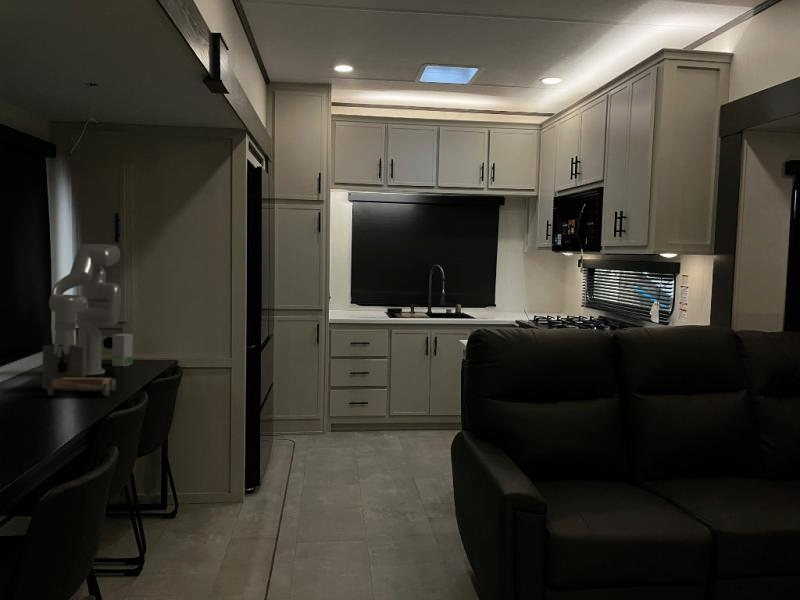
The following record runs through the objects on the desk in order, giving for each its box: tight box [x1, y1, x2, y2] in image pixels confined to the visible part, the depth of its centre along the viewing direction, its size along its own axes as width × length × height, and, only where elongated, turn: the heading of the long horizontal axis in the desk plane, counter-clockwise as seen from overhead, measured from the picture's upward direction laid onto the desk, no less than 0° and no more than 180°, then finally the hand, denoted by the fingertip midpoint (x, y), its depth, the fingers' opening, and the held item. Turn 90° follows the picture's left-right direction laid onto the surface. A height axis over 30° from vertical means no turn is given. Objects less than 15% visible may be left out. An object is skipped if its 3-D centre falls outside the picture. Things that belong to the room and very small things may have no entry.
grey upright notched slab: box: [42, 344, 86, 390], centre depth 245 cm, size 16×4×20 cm, turn 102°
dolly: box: [46, 376, 117, 397], centre depth 238 cm, size 14×21×7 cm, turn 102°
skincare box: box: [111, 333, 134, 367], centre depth 298 cm, size 8×7×16 cm
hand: (64, 370), depth 245 cm, fingers open, 4 cm apart
